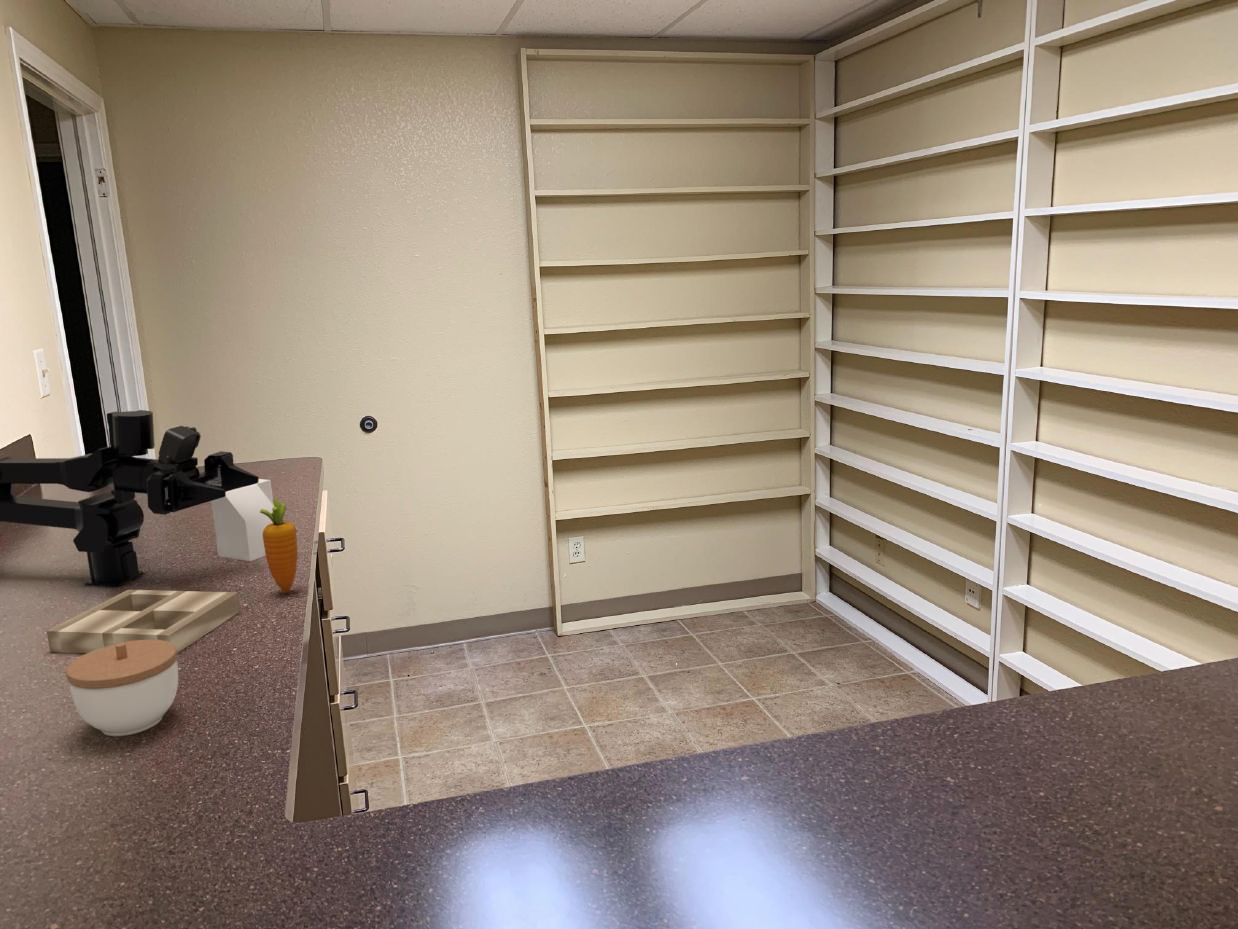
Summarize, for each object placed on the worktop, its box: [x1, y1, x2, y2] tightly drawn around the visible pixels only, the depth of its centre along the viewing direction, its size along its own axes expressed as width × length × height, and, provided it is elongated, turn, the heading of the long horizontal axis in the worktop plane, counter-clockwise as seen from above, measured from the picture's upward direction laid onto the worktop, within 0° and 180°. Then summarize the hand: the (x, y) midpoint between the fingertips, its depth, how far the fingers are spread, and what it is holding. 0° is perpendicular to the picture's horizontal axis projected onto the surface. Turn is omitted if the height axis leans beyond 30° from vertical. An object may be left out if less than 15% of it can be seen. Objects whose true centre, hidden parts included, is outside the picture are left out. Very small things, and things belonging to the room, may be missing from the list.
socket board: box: [46, 589, 241, 654], centre depth 126 cm, size 18×16×3 cm
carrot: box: [260, 498, 298, 595], centre depth 138 cm, size 5×5×15 cm
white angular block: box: [210, 478, 275, 562], centre depth 163 cm, size 11×11×12 cm
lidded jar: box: [65, 640, 179, 737], centre depth 99 cm, size 11×11×9 cm
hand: (242, 486), depth 141 cm, fingers open, 9 cm apart
